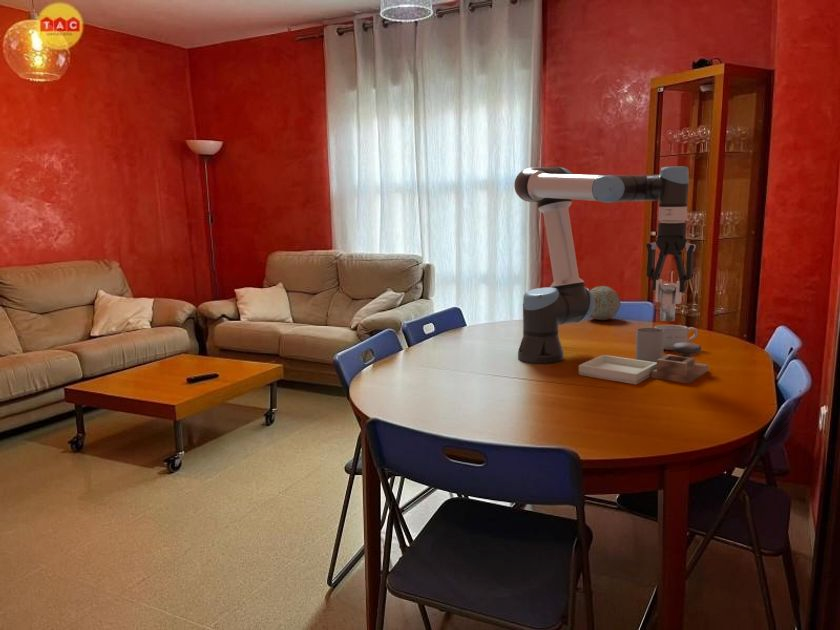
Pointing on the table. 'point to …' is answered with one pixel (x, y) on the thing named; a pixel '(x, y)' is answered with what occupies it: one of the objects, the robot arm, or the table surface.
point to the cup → (649, 344)
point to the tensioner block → (680, 364)
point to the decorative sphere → (605, 303)
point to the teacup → (675, 335)
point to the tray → (618, 369)
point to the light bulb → (668, 301)
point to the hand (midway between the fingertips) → (668, 302)
